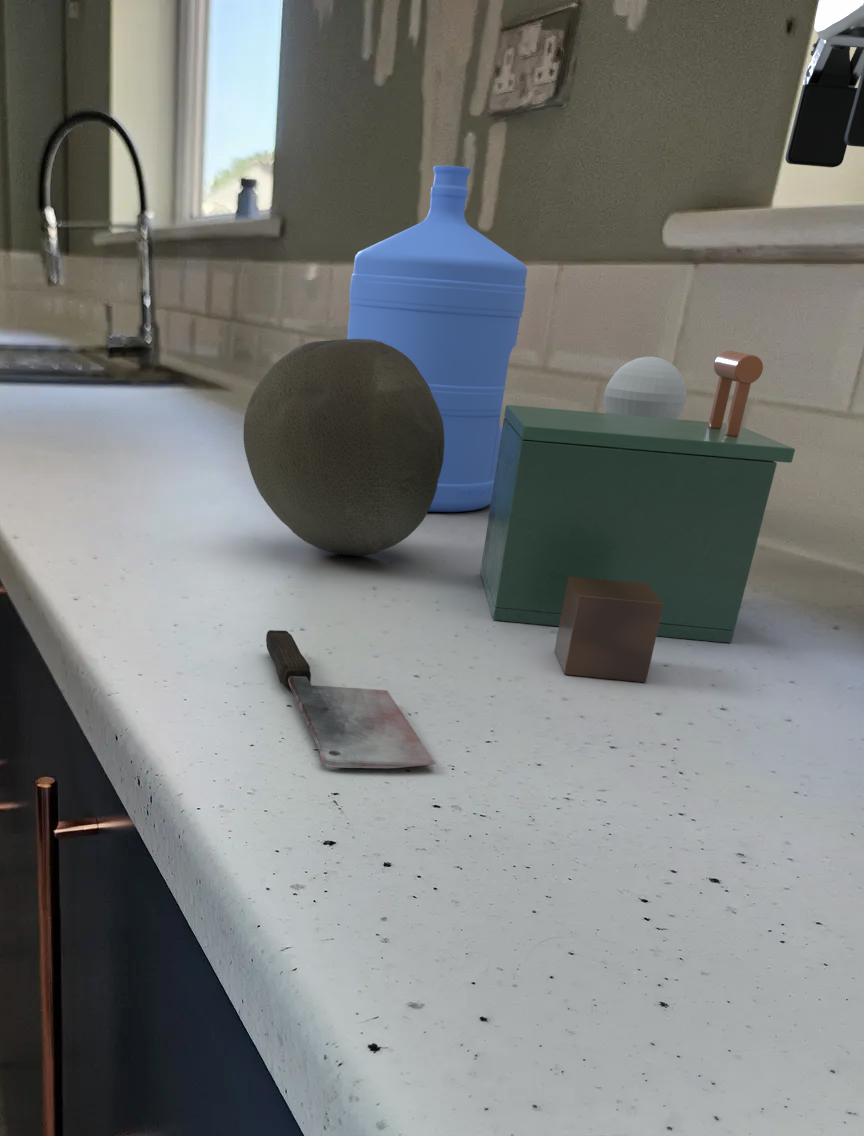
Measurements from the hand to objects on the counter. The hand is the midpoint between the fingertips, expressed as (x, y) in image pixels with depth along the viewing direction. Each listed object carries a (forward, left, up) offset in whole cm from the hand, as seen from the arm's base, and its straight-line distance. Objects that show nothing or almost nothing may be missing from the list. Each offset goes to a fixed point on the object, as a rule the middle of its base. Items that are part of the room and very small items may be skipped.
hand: (841, 156), depth 62 cm
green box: (+8, -1, -27) cm, 28 cm away
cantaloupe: (+26, -9, -27) cm, 39 cm away
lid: (+8, -1, -16) cm, 18 cm away
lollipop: (+4, -18, -27) cm, 33 cm away
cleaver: (+24, +24, -27) cm, 43 cm away
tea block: (+10, +13, -27) cm, 31 cm away
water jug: (+20, -37, -27) cm, 50 cm away
